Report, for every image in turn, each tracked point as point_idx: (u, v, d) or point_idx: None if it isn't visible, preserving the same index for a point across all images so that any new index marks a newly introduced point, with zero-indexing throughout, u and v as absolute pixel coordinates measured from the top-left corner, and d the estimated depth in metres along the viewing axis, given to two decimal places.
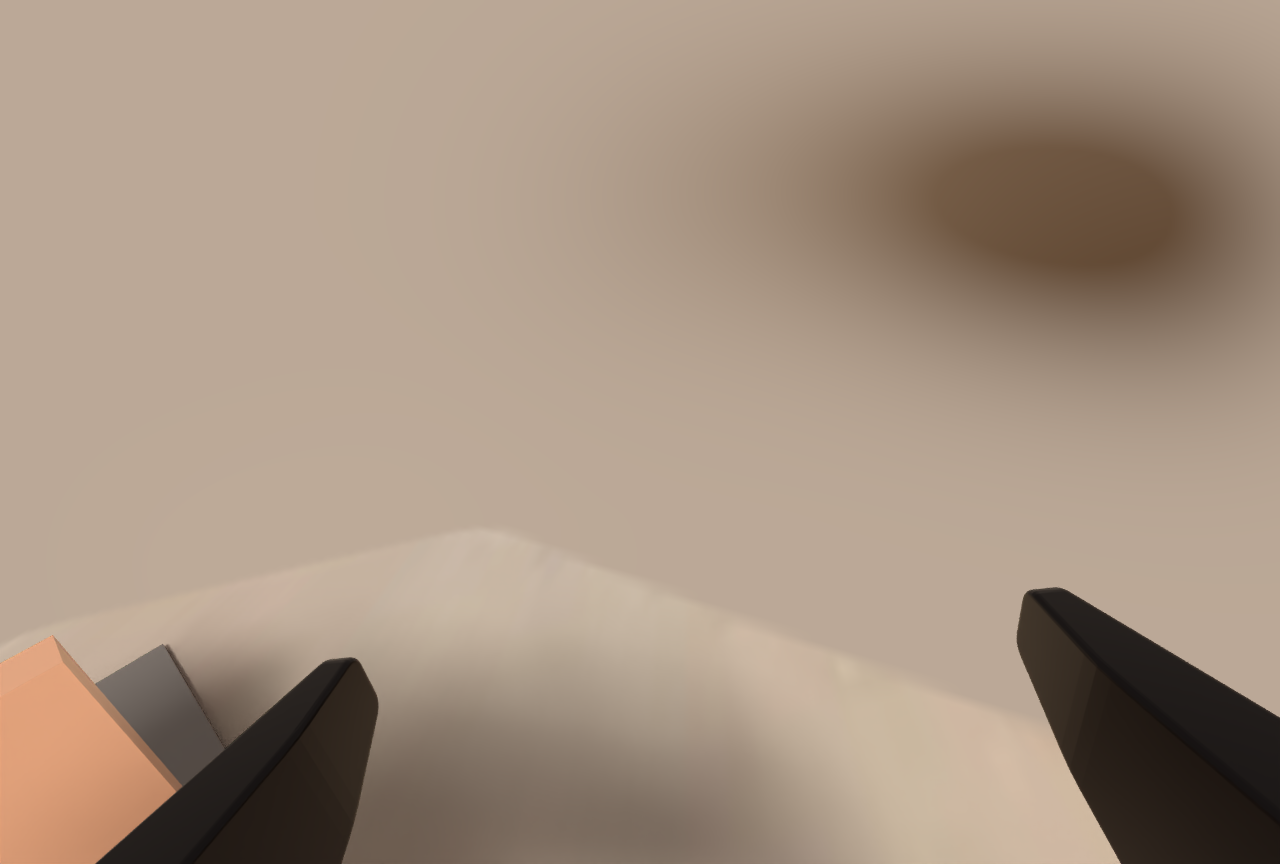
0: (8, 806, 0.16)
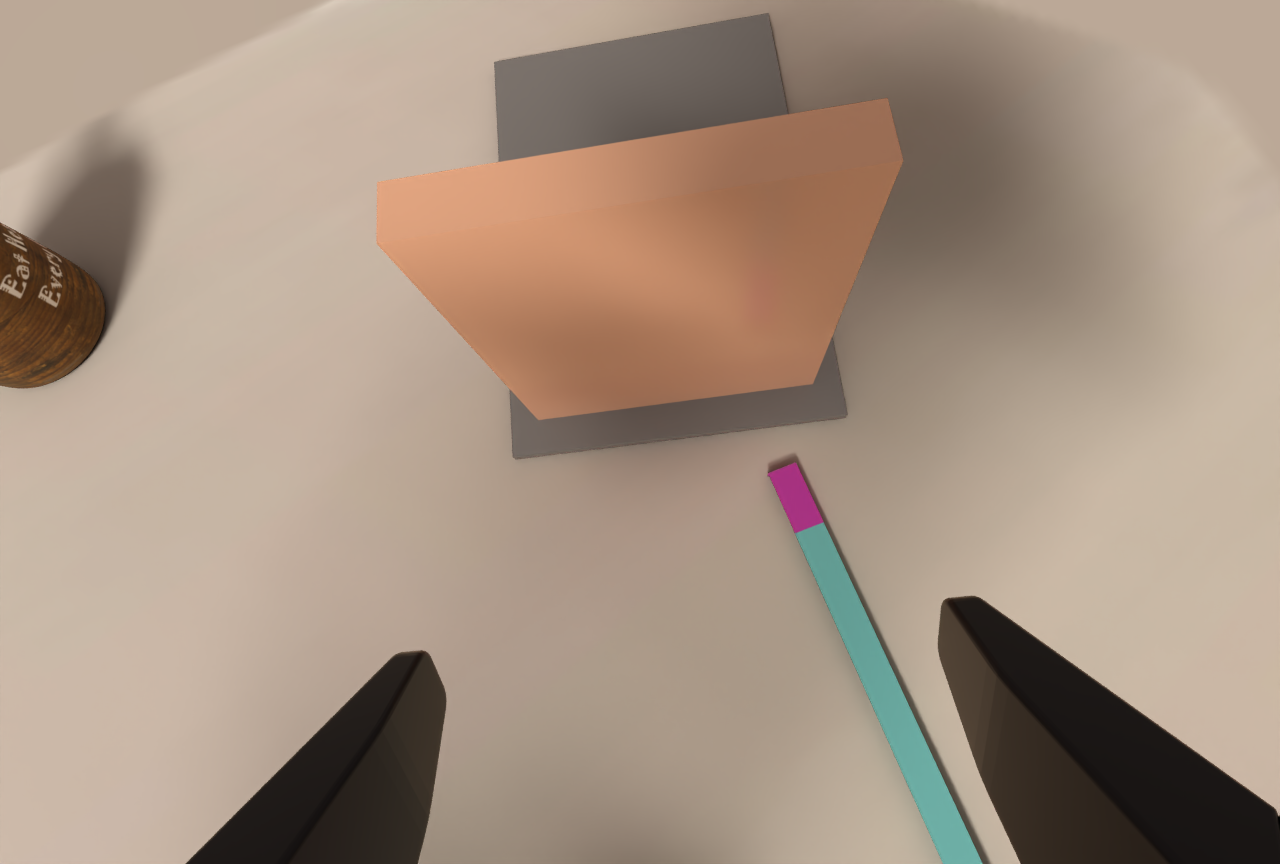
0: (755, 261, 0.15)
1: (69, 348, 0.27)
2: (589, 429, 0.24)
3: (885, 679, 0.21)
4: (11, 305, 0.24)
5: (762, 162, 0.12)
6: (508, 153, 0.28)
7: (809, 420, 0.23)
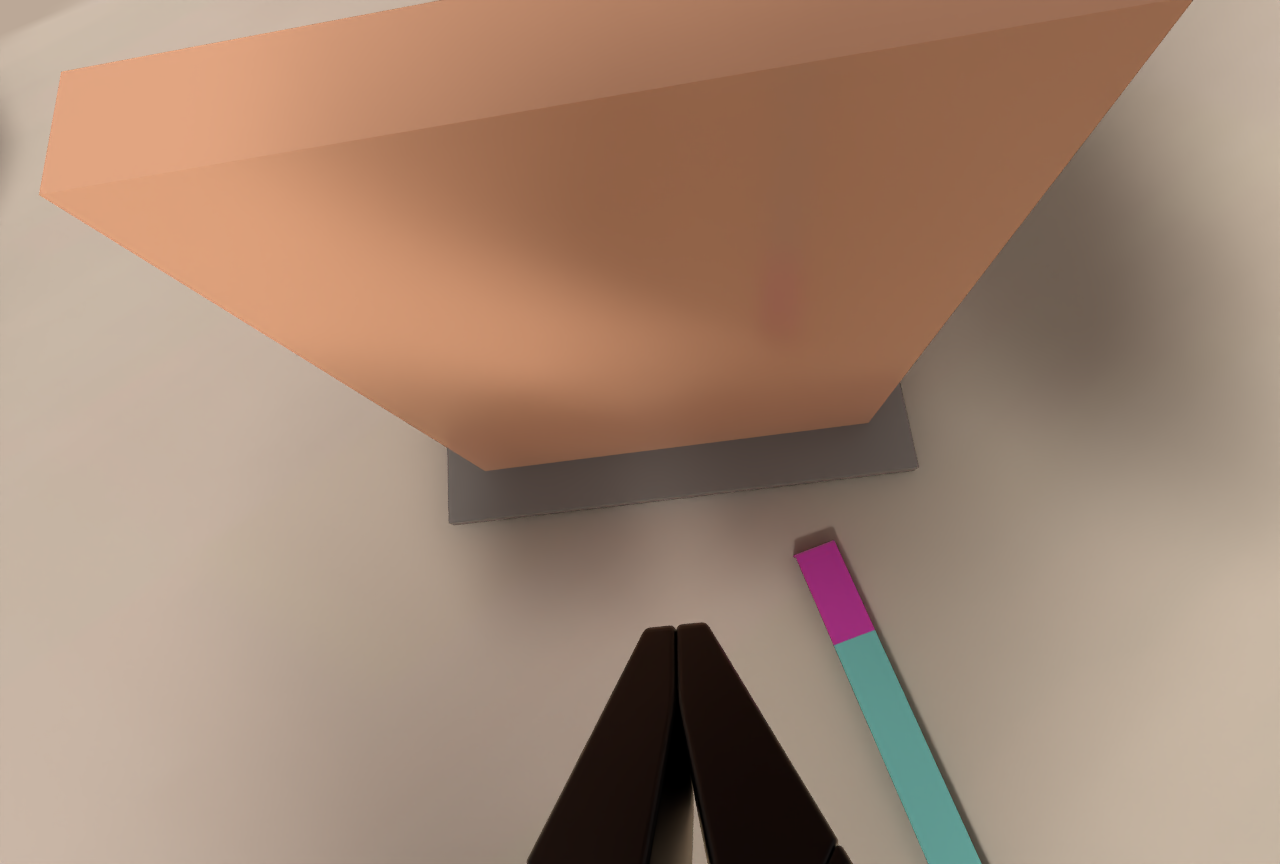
0: (821, 239, 0.08)
1: None
2: (555, 485, 0.17)
3: None
4: None
5: (865, 9, 0.06)
6: None
7: (864, 474, 0.17)
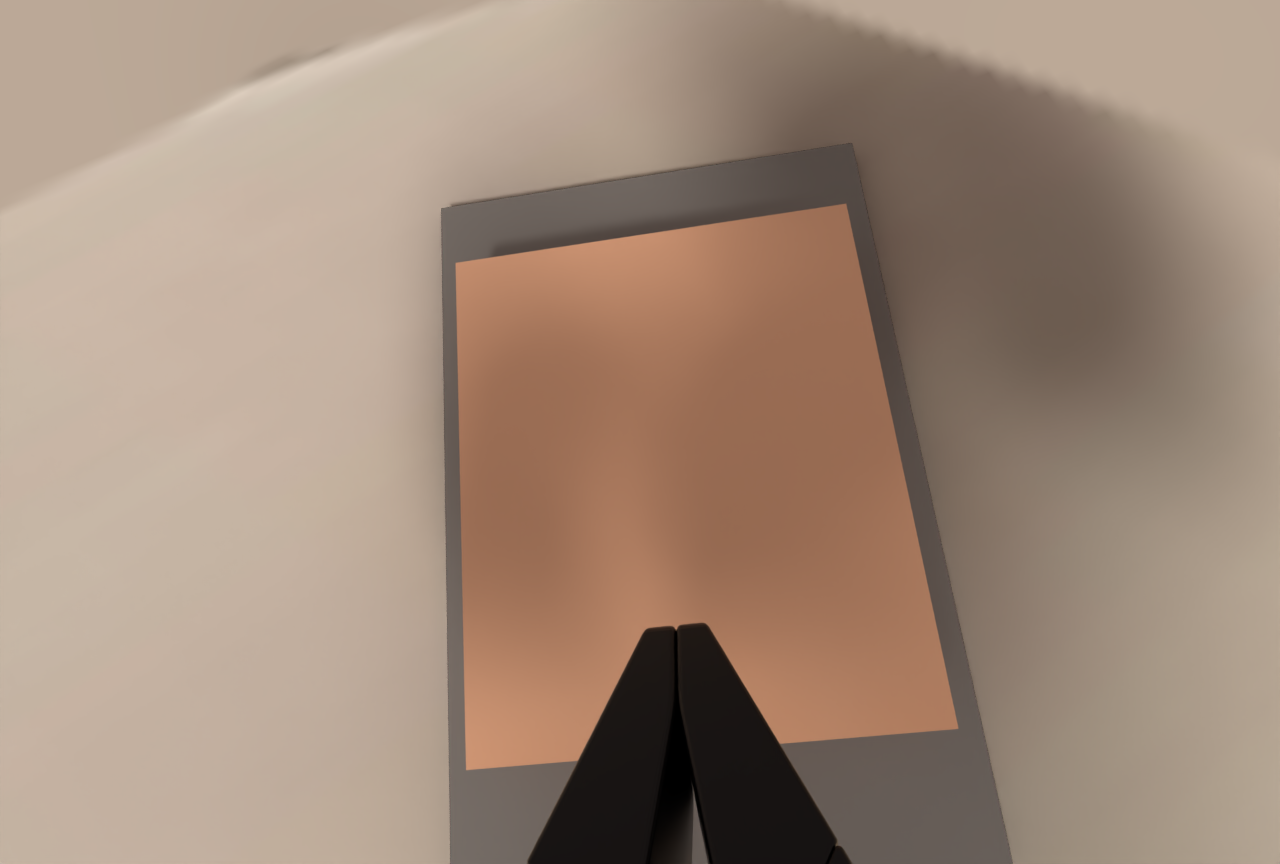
0: (760, 321, 0.16)
1: None
2: None
3: None
4: None
5: None
6: None
7: None
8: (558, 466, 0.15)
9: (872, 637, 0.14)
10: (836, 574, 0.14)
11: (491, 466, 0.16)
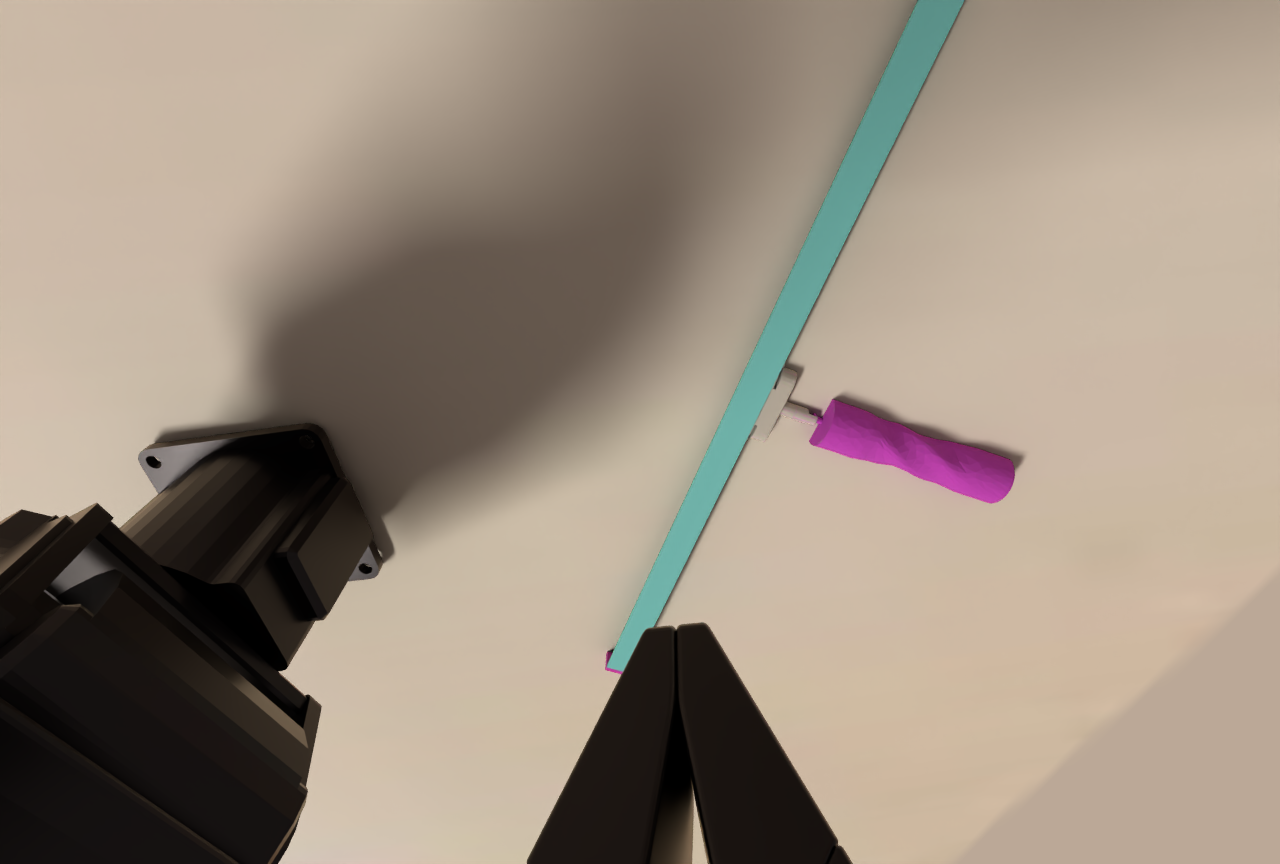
0: None
1: None
2: None
3: (884, 134, 0.17)
4: None
5: None
6: None
7: None
8: None
9: None
10: None
11: None
